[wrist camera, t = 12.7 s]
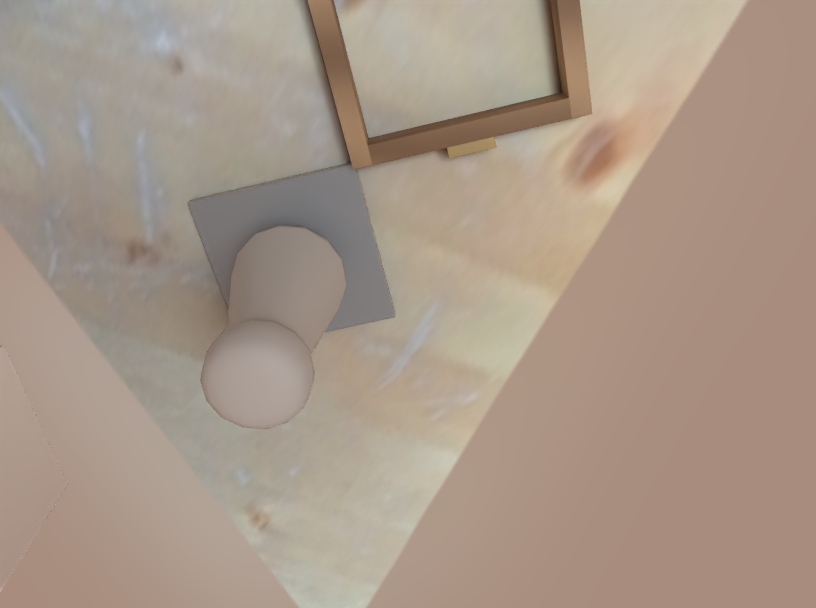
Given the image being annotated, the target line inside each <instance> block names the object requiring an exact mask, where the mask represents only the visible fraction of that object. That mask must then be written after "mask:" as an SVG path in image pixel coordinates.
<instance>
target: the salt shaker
mask: <svg viewBox="0 0 816 608" xmlns="http://www.w3.org/2000/svg"><path fill="white" fill-rule="evenodd" d="M345 288H346V281H345V275H344V269H343V264H342V259H341V257H340V256H339V255H338V253H337V252H336V251H335V249H334V248H333V247H332V245H331V244H330V243H329V241H328V240H327V239H325V238H323V237H322V236H320V235H318V234H316V233H314V232H313V231H311V230H309V229H307V228H306V227H296V226H284V225H279V226H276V227H273V228H270V229H267V230H264V231H262V232H259V233H256V234H255V235H254V236H253V237H252V238H251V239H250V240H249V241H248V242H247V243H246V245H245V246H244V247H243V248H242V249H241V250H240V251H239V252H238V254H237V257H236V261H235V264H234V268H233V272H232V275H231V287H230V302H229V316H228V328H227V329H226V330H225V331H224V332H223V333H222V334H221V335H220V336H219V337H218V338H217V339H216V340H215V341H214V342H213V343H212V345H211V346H210V348H209V349H208V351H207V354H206V358H205V362H204V365H203V369H202V374H201V384H202V387H203V390H204V394H205V397H206V400H207V402H208V403H209V404H210V405H211V406H212V407H213V408H214V409H215V411H216V412H217V413H218V414H219V415H220V416H221V417H222V418H224V419H226V420H228V421H231V422H233V423H235V424H237V425H239V426H242V427H248V428H260V429H268V428H271V427H274V426H277V425H280V424H283V423H286V422H288V421H289V420H290V419H291V418H293V417H294V416H295V415H296V414H297V413H298V412H299V411H300V410H301V409H303V407H304V405H305V403H306V402H307V400H308V396H309V393H310V390H311V387H312V384H313V380H314V367H313V362H312V357H311V353H312V352H313V350H314V348H315V347H316V345H317V343H318V342H319V340H320V339H321V337H322V335H323V334H324V332H325V330H326V329H327V327H328V325H329V324H330V322H331V320H332V319H333V317H334V315H335V314H336V312H337V310H338V309H339V307H340V304H341V301H342V298H343V294H344V291H345Z"/></svg>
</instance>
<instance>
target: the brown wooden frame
mask: <svg viewBox="0 0 816 608" xmlns="http://www.w3.org/2000/svg"><path fill="white" fill-rule="evenodd" d="M308 4H309V8H310V12H311V15H312V19H313V23H314V26H315V30H316V34H317V38H318V41H319V45H320V49H321V52H322V56H323V60H324V63H325V67H326V71H327V75H328V78H329V82H330V86H331V89H332V93H333V97H334V101H335V104H336V108H337V112H338V115H339V119H340V123H341V127H342V130H343V134H344V138H345V141H346V145H347V149H348V153H349V156H350V160H351V164H352V167H353V170H354V169H358V168H362V167H367V166H371V165H375V164H379V163H384V162H388V161H392V160H397V159H401V158H405V157H409V156H414V155H418V154H422V153H427V152H431V151H435V150H439V149H444V148H447V152H448V156H449V158H453V157H458V156H462V155H466V154H471V153H475V152H479V151H483V150H488V149H492V148H496V142H495V136H499V135H504V134H508V133H512V132H517V131H521V130H525V129H529V128H534V127H538V126H542V125H547V124H551V123H555V122H559V121H564V120H568V119H572V118H577V117H581V116H585V115H589V114H592V106H591V98H590V89H589V80H588V71H587V62H586V53H585V45H584V36H583V27H582V18H581V9H580V0H550V4H551V12H552V19H553V27H554V35H555V42H556V50H557V58H558V65H559V73H560V81H561V88H562V93H559V94H554V95H550V96H546V97H542V98H537V99H533V100H529V101H525V102H521V103H516V104H512V105H508V106H504V107H499V108H495V109H491V110H487V111H483V112H478V113H474V114H470V115H466V116H461V117H457V118H453V119H449V120H445V121H440V122H436V123H432V124H428V125H423V126H419V127H415V128H411V129H406V130H402V131H398V132H394V133H390V134H385V135H381V136H377V137H373V138H368V134H367V130H366V126H365V122H364V118H363V115H362V111H361V107H360V103H359V99H358V95H357V91H356V87H355V83H354V79H353V75H352V71H351V67H350V63H349V60H348V56H347V52H346V48H345V44H344V40H343V36H342V32H341V28H340V24H339V20H338V16H337V12H336V8H335V5H334V1H333V0H308Z"/></svg>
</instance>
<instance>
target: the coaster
mask: <svg viewBox="0 0 816 608" xmlns="http://www.w3.org/2000/svg"><path fill="white" fill-rule="evenodd" d="M188 206H189V209H190V211H191V214H192V216H193V219H194V222H195V224H196V227H197V229H198V232H199V235H200V237H201V240H202V243H203V245H204V248H205V250H206V253H207V256H208V258H209V261H210V263H211V266H212V269H213V271H214V274H215V276H216V279H217V282H218V284H219V287H220V290H221V292H222V295H223V297H224V300H225V303H226V305H227V308H228V310H229V302H230V287H231V275H232V272H233V268H234V264H235V261H236V257H237V254H238V252H239V251H240V250H241V249H242V248H243V247H244V246H245V245H246V243H247V242H248V241H249V240H250V239H251V238H252V237H253V236H254V235H255V234H256V233H259V232H262V231H264V230H267V229H270V228H273V227H276V226H279V225H284V226H296V227H306V228H307V229H309V230H311V231H313V232H314V233H316V234H318V235H320V236H322V237H323V238H325V239H327V240H328V241H329V243H330V244H331V245H332V247H333V248H334V249H335V251H336V252H337V253H338V255H339V256H340V257H341V259H342V264H343V269H344V275H345V281H346V288H345V291H344V294H343V298H342V301H341V304H340V307H339V309H338V310H337V312H336V314H335V315H334V317H333V319H332V320H331V322H330V324H329V325H328V327H327V329H326V330H325V332H328V331H333V330H337V329H342V328H347V327H351V326H356V325H361V324H365V323H370V322H375V321H379V320H384V319H389V318H393V317H395V311H394V307H393V303H392V299H391V296H390V292H389V288H388V284H387V281H386V277H385V273H384V269H383V266H382V262H381V258H380V254H379V251H378V247H377V243H376V239H375V236H374V232H373V228H372V224H371V221H370V217H369V213H368V209H367V206H366V202H365V198H364V194H363V191H362V187H361V183H360V180H359V176H358V172H357V169H354V170H353V167H352V164H351V163H347V164H343V165H338V166H334V167H330V168H326V169H321V170H317V171H313V172H309V173H304V174H300V175H296V176H291V177H287V178H283V179H279V180H274V181H270V182H266V183H262V184H257V185H253V186H249V187H245V188H240V189H236V190H232V191H227V192H223V193H219V194H215V195H210V196H206V197H202V198H198V199H193V200H190V201H189V203H188Z"/></svg>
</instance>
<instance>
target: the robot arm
mask: <svg viewBox="0 0 816 608" xmlns="http://www.w3.org/2000/svg"><path fill="white" fill-rule="evenodd" d="M67 485H68V484H67V482H66V479H65V477H64V475H63V473H62V471H61V469H60V467H59V465H58V462H57V461H56V458H55V456H54V454H53V451H52V449H51V447H50V445H49V443H48V441H47V439H46V436H45V434H44V432H43V430H42V428H41V426H40V424H39V421H38V419H37V417H36V415H35V413H34V411H33V408H32V406H31V404H30V402H29V400H28V398H27V396H26V394H25V391H24V389H23V387H22V385H21V383H20V380H19V379H18V376H17V374H16V372H15V370H14V368H13V365H12V363H11V361H10V359H9V357H8V355H7V353H6V350H5V348H4V346H0V592H1V590H2V588H3V587H4V585H5V584H6V582H7V581H8V579H9V577H10V576H11V574H12V573H13V571H14V569H15V568H16V566H17V565H18V563H19V562H20V560H21V558H22V557H23V555H24V553H25V552H26V550H27V549H28V547H29V546H30V544H31V542H32V541H33V539H34V538H35V536H36V534H37V533H38V531H39V530H40V528H41V526H42V525H43V523H44V522H45V520H46V519H47V517H48V515H49V514H50V512H51V511H52V509H53V507H54V506H55V504H56V503H57V501H58V500H59V498H60V496H61V495H62V493H63V492H64V490H65V489H66V487H67Z"/></svg>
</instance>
